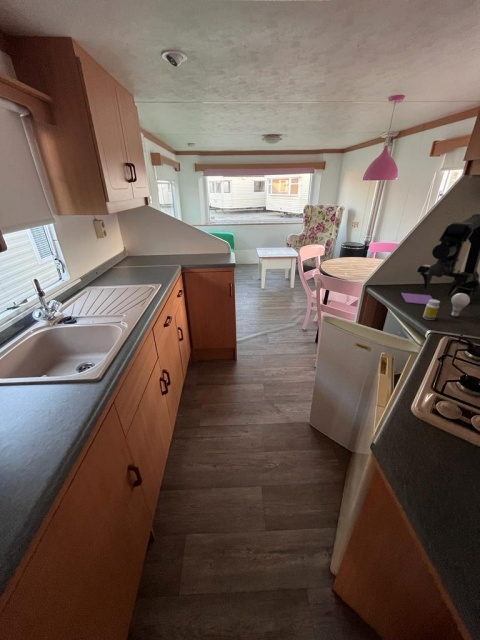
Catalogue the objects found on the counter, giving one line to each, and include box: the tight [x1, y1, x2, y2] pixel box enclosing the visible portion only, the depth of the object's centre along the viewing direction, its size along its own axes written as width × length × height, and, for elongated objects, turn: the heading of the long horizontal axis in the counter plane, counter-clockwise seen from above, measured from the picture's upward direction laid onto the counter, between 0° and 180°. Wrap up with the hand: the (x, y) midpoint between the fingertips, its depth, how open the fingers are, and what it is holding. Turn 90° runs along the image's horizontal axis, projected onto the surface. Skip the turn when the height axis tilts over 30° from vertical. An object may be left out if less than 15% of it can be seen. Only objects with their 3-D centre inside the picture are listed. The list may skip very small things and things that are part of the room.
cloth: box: [400, 292, 434, 306], centre depth 139 cm, size 14×14×1 cm
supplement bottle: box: [422, 298, 441, 321], centre depth 117 cm, size 5×5×8 cm
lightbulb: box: [450, 293, 471, 317], centre depth 118 cm, size 6×6×11 cm
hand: (437, 292), depth 114 cm, fingers open, 9 cm apart
